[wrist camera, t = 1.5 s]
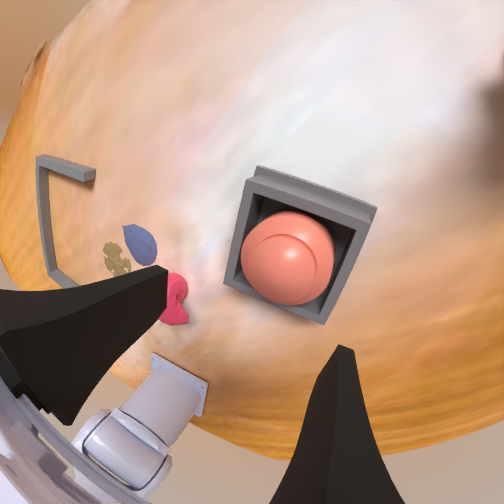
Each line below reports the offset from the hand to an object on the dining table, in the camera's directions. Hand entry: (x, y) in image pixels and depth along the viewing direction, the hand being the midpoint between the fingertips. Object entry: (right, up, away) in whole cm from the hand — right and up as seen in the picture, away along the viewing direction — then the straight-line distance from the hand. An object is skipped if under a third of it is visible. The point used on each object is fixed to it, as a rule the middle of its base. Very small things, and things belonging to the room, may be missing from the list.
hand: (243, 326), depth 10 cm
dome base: (+4, +4, +8) cm, 10 cm away
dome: (+3, +3, +7) cm, 8 cm away
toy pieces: (-10, +1, +16) cm, 19 cm away
